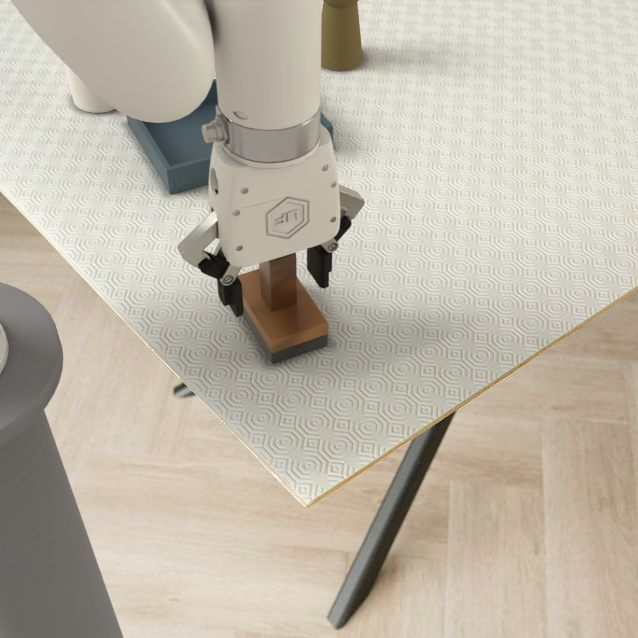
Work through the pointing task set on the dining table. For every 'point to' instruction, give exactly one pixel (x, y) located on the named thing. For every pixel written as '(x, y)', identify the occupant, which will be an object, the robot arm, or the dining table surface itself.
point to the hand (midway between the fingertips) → (276, 291)
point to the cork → (340, 35)
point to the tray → (184, 145)
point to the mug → (85, 95)
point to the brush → (282, 310)
